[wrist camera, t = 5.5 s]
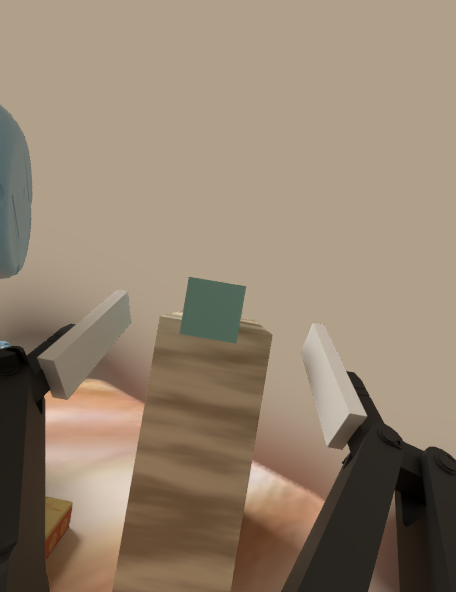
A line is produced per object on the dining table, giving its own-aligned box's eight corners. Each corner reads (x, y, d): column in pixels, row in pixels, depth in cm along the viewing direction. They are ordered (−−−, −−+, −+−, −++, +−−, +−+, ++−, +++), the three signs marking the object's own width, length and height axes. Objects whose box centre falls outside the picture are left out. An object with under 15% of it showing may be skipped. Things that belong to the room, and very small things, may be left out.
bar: (236, 343, 15) (245, 286, 15) (179, 333, 15) (189, 276, 15) (233, 318, 35) (237, 294, 35) (208, 314, 35) (212, 290, 35)
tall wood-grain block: (218, 664, 22) (272, 335, 23) (103, 642, 23) (159, 316, 23) (223, 502, 40) (254, 319, 41) (159, 490, 41) (190, 309, 41)
